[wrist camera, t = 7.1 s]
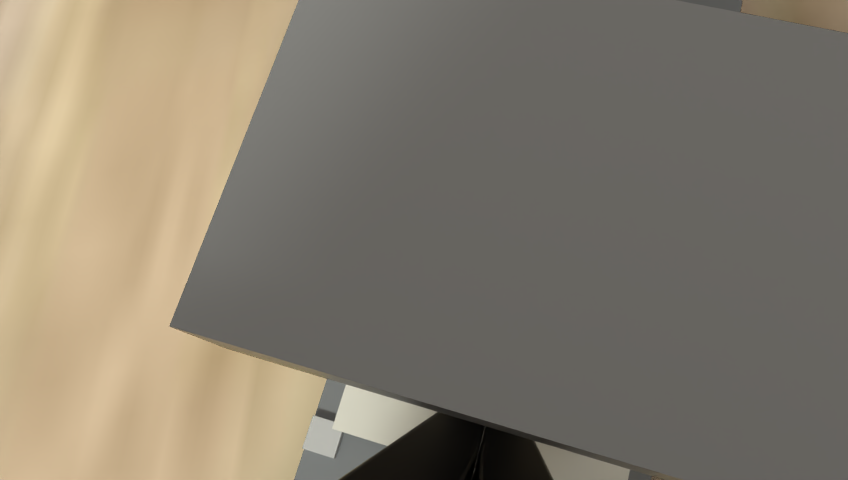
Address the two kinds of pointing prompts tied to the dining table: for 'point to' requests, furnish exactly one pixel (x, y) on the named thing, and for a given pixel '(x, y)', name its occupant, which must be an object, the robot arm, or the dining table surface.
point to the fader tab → (551, 230)
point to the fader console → (323, 445)
